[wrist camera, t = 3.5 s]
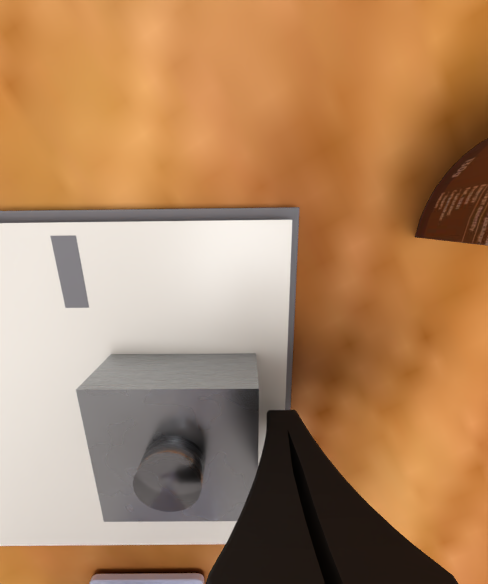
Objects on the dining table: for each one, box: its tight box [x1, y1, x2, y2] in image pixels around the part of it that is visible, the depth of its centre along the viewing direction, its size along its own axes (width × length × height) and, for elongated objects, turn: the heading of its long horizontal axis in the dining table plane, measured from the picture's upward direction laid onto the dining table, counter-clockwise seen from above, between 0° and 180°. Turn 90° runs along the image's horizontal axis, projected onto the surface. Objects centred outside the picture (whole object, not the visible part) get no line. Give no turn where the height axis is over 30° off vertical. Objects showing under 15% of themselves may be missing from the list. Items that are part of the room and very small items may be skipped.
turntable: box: [0, 220, 292, 546], centre depth 12 cm, size 18×21×4 cm
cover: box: [76, 353, 259, 522], centre depth 11 cm, size 6×6×4 cm
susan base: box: [0, 207, 299, 410], centre depth 14 cm, size 19×19×1 cm
